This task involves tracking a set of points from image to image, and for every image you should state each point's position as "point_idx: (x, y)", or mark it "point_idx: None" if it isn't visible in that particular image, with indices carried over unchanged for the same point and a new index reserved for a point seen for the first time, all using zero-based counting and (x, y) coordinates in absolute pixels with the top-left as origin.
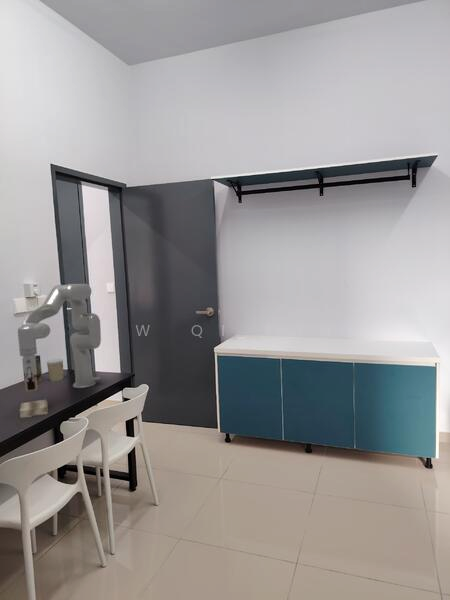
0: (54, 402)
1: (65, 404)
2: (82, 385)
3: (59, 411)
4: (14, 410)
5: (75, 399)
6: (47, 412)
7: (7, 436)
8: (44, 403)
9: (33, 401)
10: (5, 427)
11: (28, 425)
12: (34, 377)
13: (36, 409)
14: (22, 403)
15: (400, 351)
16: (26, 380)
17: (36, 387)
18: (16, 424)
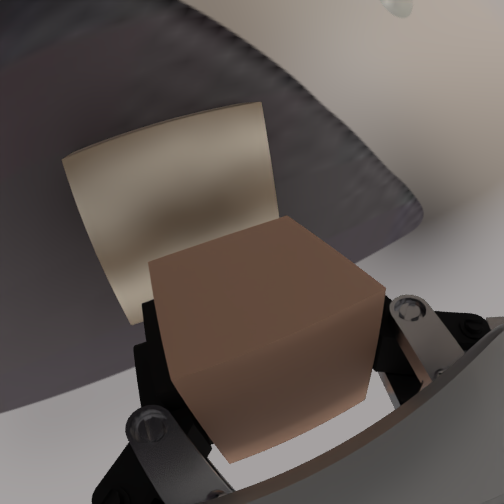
0: (12, 130)
1: (81, 27)
2: None
3: (220, 34)
4: (127, 333)
5: (6, 3)
6: (234, 104)
7: (417, 222)
8: (171, 141)
9: (100, 256)
10: None
11: (366, 174)
12: (206, 398)
13: (269, 172)
14: (134, 316)
15: None
16: (346, 402)
17: (302, 232)
18: (335, 235)
